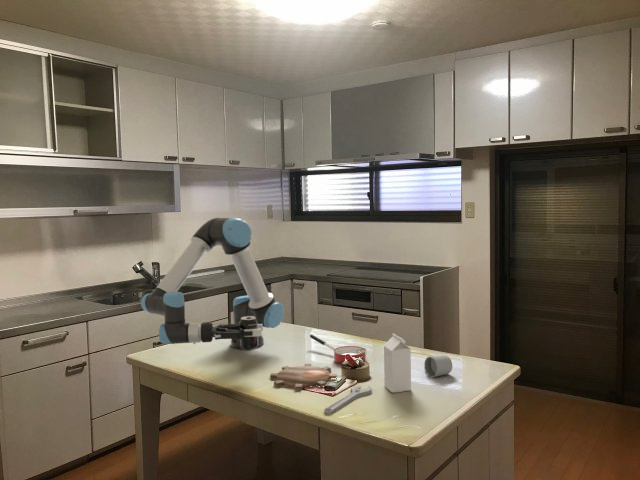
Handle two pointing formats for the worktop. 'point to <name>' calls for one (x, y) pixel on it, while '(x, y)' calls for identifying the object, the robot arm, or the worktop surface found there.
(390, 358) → the milk carton
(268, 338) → the worktop surface
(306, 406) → the worktop surface
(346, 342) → the worktop surface
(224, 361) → the worktop surface
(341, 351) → the red saucepan
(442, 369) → the ceramic mug
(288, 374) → the sprocket plate
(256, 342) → the beverage can
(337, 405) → the adjustable wrench
